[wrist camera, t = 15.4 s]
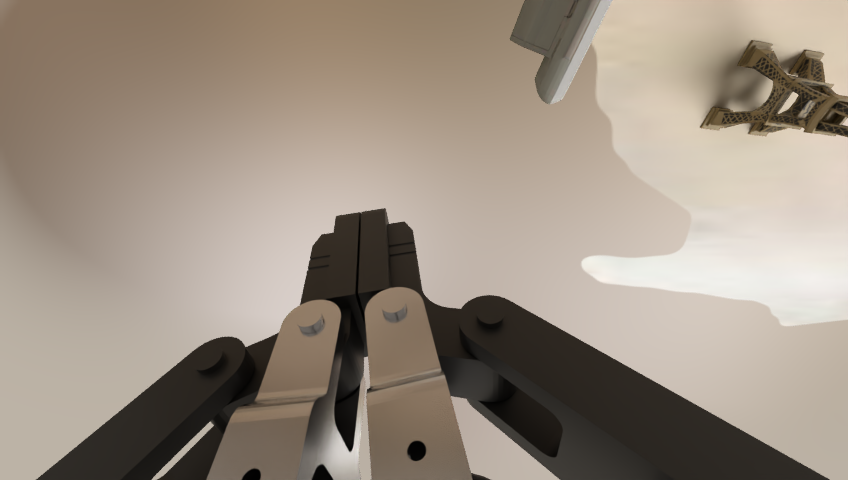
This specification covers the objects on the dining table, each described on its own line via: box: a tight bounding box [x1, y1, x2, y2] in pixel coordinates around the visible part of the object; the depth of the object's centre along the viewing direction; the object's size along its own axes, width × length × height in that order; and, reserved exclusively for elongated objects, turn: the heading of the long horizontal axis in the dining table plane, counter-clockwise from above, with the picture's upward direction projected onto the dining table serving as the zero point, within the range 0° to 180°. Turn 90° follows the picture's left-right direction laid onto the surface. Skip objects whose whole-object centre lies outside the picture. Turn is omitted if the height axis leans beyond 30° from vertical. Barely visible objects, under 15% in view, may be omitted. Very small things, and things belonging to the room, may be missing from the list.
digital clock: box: [510, 0, 612, 104], centre depth 35 cm, size 16×9×11 cm, turn 151°
